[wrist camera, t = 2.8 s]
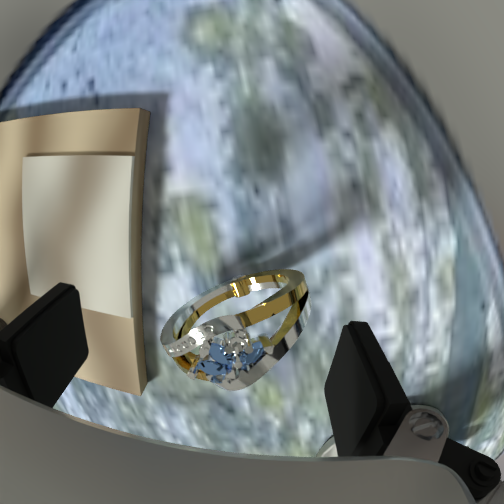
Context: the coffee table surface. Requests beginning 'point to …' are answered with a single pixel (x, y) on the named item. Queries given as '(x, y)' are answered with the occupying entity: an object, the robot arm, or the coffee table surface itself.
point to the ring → (237, 330)
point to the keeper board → (78, 229)
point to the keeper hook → (2, 324)
